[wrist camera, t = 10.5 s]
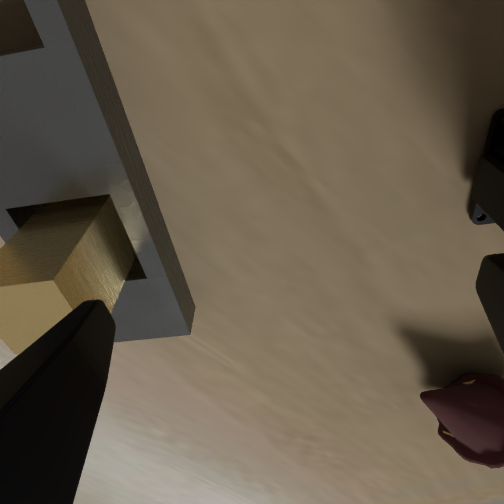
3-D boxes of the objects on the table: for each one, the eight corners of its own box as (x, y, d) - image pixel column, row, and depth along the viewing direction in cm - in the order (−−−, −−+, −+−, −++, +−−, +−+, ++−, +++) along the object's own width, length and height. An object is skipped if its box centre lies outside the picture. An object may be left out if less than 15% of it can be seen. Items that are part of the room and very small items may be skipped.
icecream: (388, 456, 26) (503, 485, 32) (491, 444, 21) (604, 481, 27) (375, 362, 30) (478, 403, 36) (458, 334, 25) (562, 386, 31)
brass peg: (117, 185, 20) (53, 280, 14) (141, 242, 23) (96, 345, 16) (51, 195, 21) (-41, 291, 14) (81, 250, 23) (15, 354, 17)
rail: (-75, -441, 9) (-163, -552, 7) (195, 307, 26) (190, 334, 24) (-326, -351, 10) (-467, -431, 8) (90, 318, 27) (77, 346, 25)
